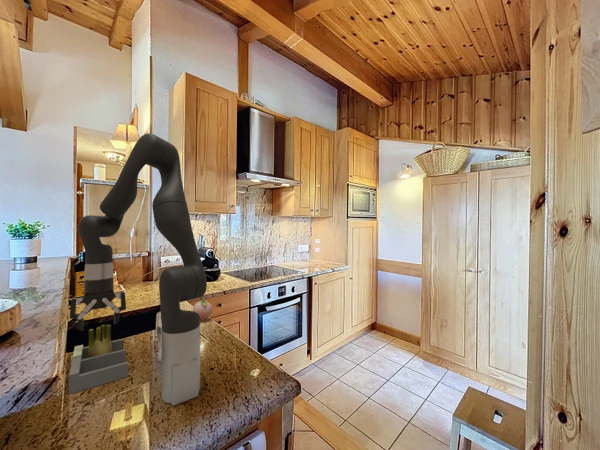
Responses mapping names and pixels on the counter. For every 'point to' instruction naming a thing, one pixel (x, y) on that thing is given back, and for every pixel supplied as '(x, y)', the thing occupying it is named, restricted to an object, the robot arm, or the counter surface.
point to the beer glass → (159, 335)
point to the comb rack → (97, 367)
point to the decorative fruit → (203, 309)
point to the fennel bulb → (100, 341)
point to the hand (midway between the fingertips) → (99, 327)
